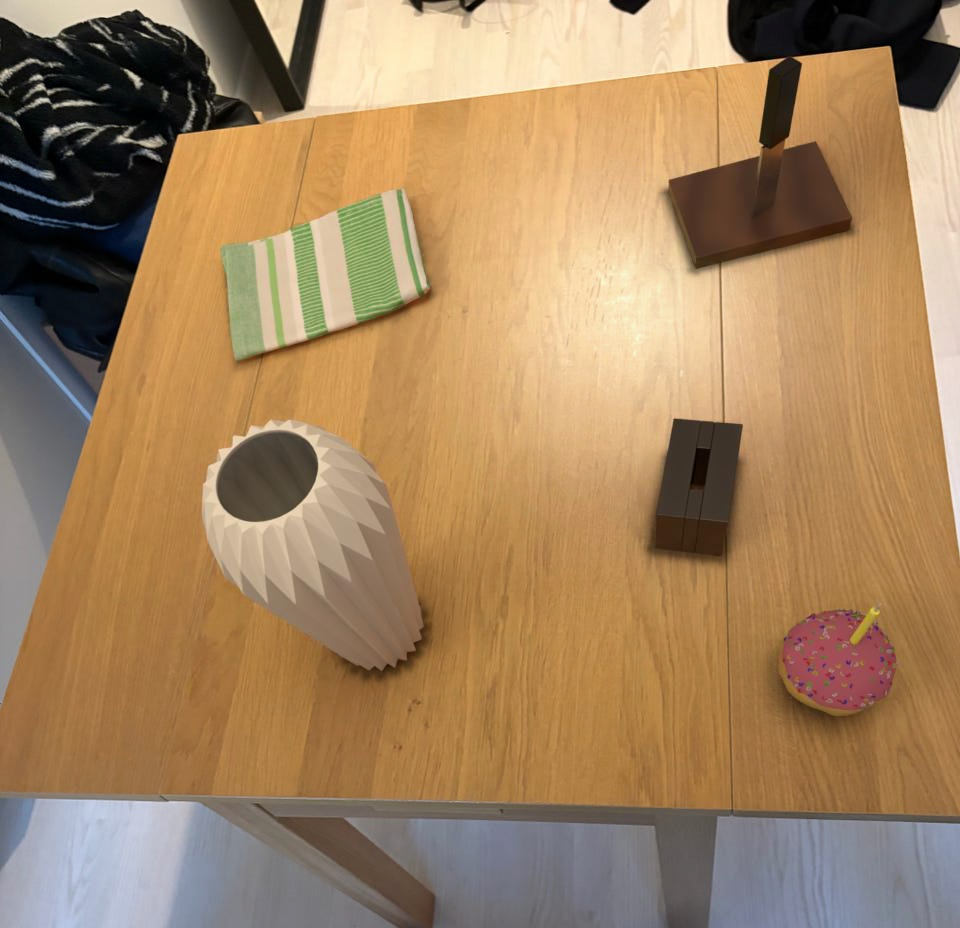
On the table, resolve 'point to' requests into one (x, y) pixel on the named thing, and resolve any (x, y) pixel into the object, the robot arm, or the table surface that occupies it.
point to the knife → (775, 130)
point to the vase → (313, 540)
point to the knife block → (699, 461)
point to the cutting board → (728, 204)
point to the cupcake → (838, 661)
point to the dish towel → (323, 275)
